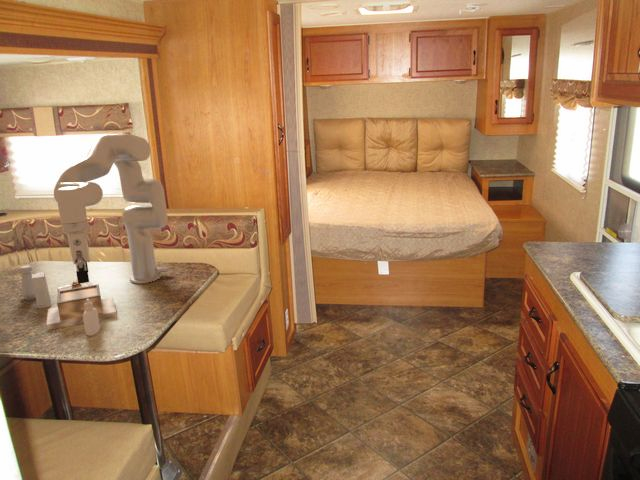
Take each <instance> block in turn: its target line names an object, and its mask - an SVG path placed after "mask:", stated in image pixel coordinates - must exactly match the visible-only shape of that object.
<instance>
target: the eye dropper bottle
mask: <svg viewBox="0 0 640 480" xmlns="http://www.w3.org/2000/svg"><path fill="white" fill-rule="evenodd" d="M84 305H85V311H84V313H83V321H84V323H83V327H84V331H85V335H86V336H88V337H89V336H91V337H92V336H94V335H96V334H98V333H99V332H100V330H101V324H100V320H99V317H98V312H97V309H96V308H93V303H92V302H90V301H89V299H87V301H86V303H85V304H84Z"/></svg>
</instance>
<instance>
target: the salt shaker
mask: <svg viewBox="0 0 640 480" xmlns="http://www.w3.org/2000/svg"><path fill="white" fill-rule="evenodd" d="M32 271H33V268H32V266H31V265H29V264H27V265H22V266H20V267H19V268H18V272H19V273H20V274H21V288H20V289H21V295H22V297H23V298H24V300H28V301H30V300H33V299H35V300H36V296H35V292H34V288H33V283H32V274H33V273H32Z"/></svg>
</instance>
